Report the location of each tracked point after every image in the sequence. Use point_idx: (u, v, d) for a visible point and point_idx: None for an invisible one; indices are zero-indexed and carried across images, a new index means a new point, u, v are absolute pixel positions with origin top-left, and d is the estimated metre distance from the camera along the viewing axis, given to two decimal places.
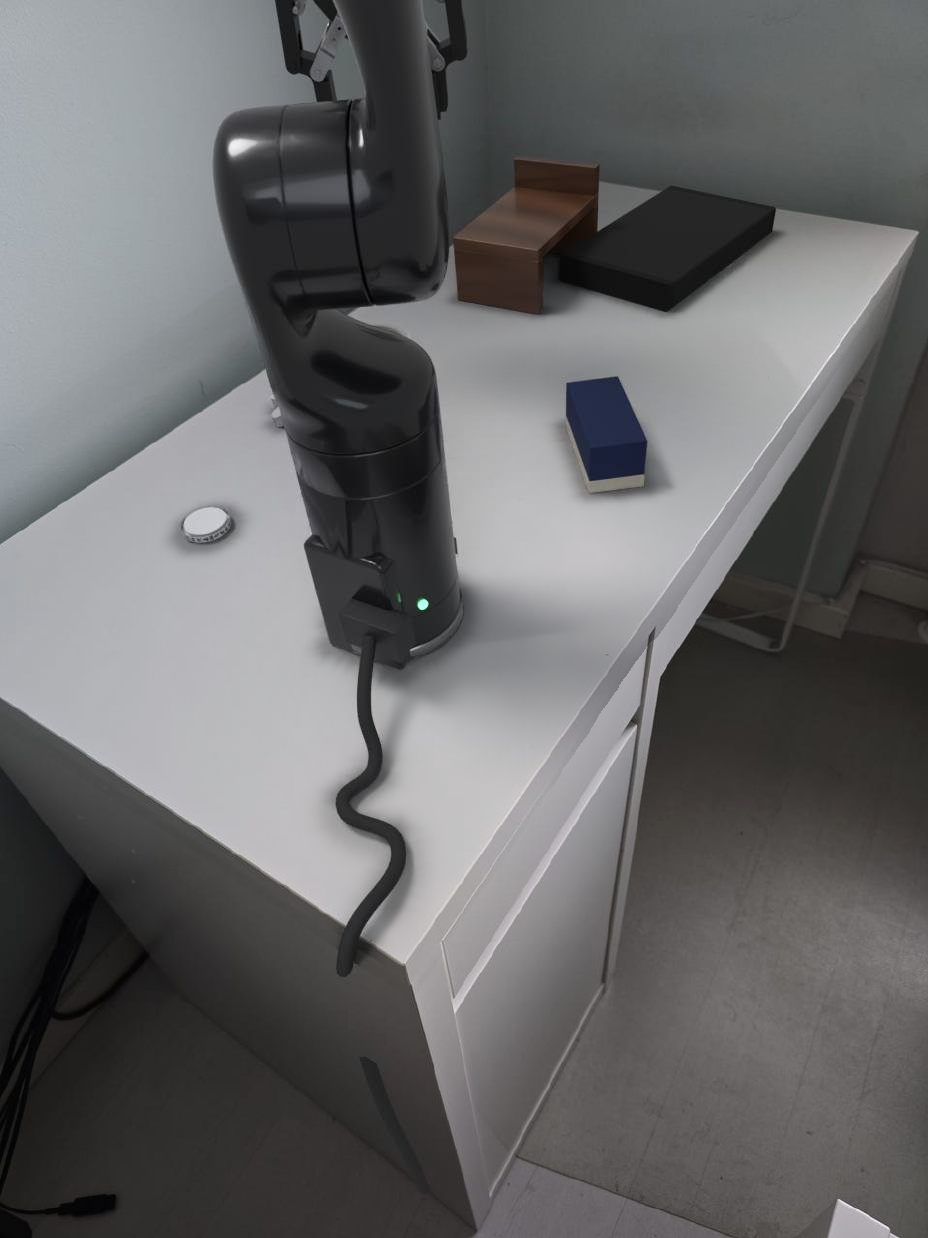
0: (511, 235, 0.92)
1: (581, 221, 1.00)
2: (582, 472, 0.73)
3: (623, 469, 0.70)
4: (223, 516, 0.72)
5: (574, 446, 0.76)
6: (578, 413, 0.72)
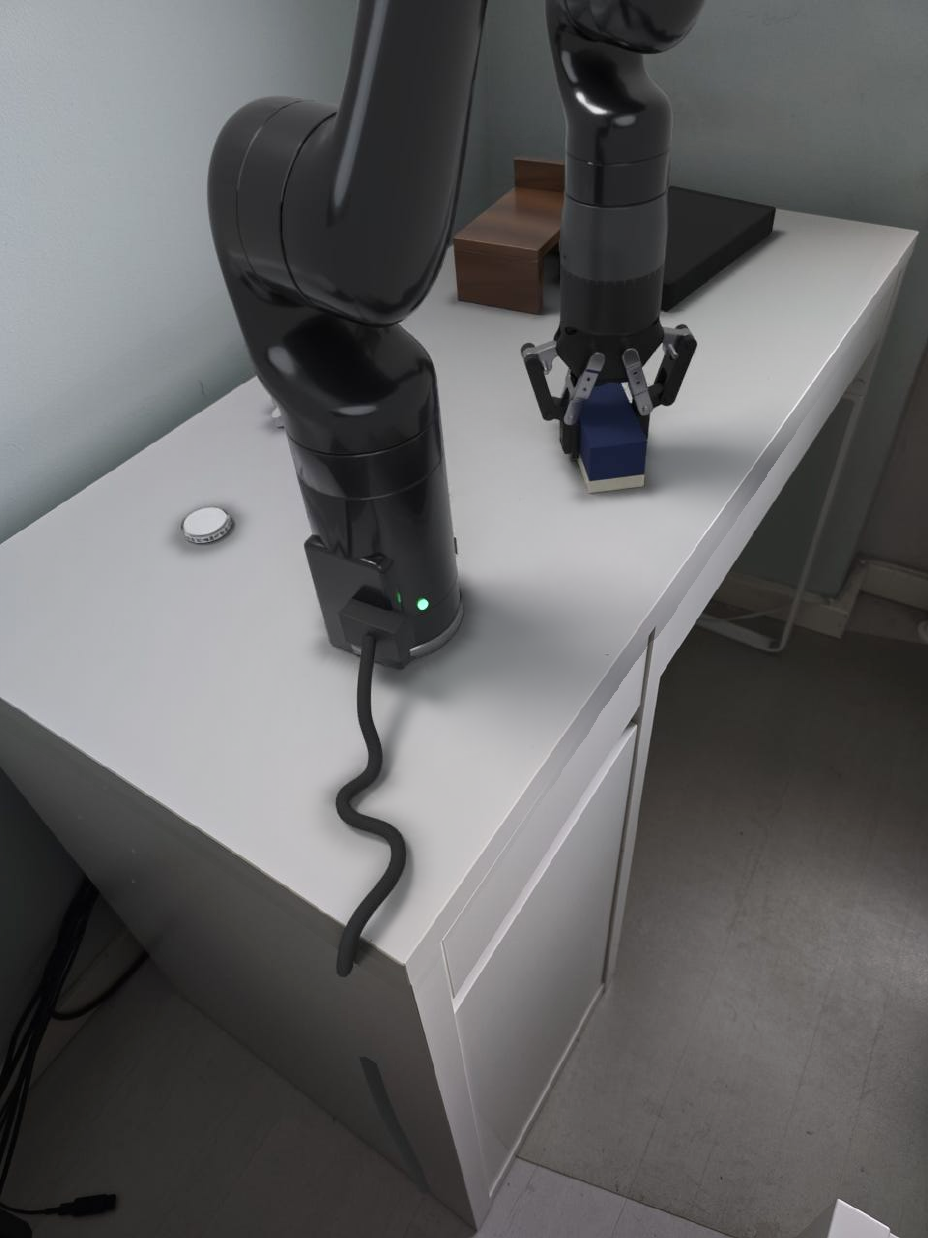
0: (511, 235, 0.92)
1: None
2: (582, 472, 0.73)
3: (623, 469, 0.70)
4: (222, 516, 0.72)
5: None
6: None
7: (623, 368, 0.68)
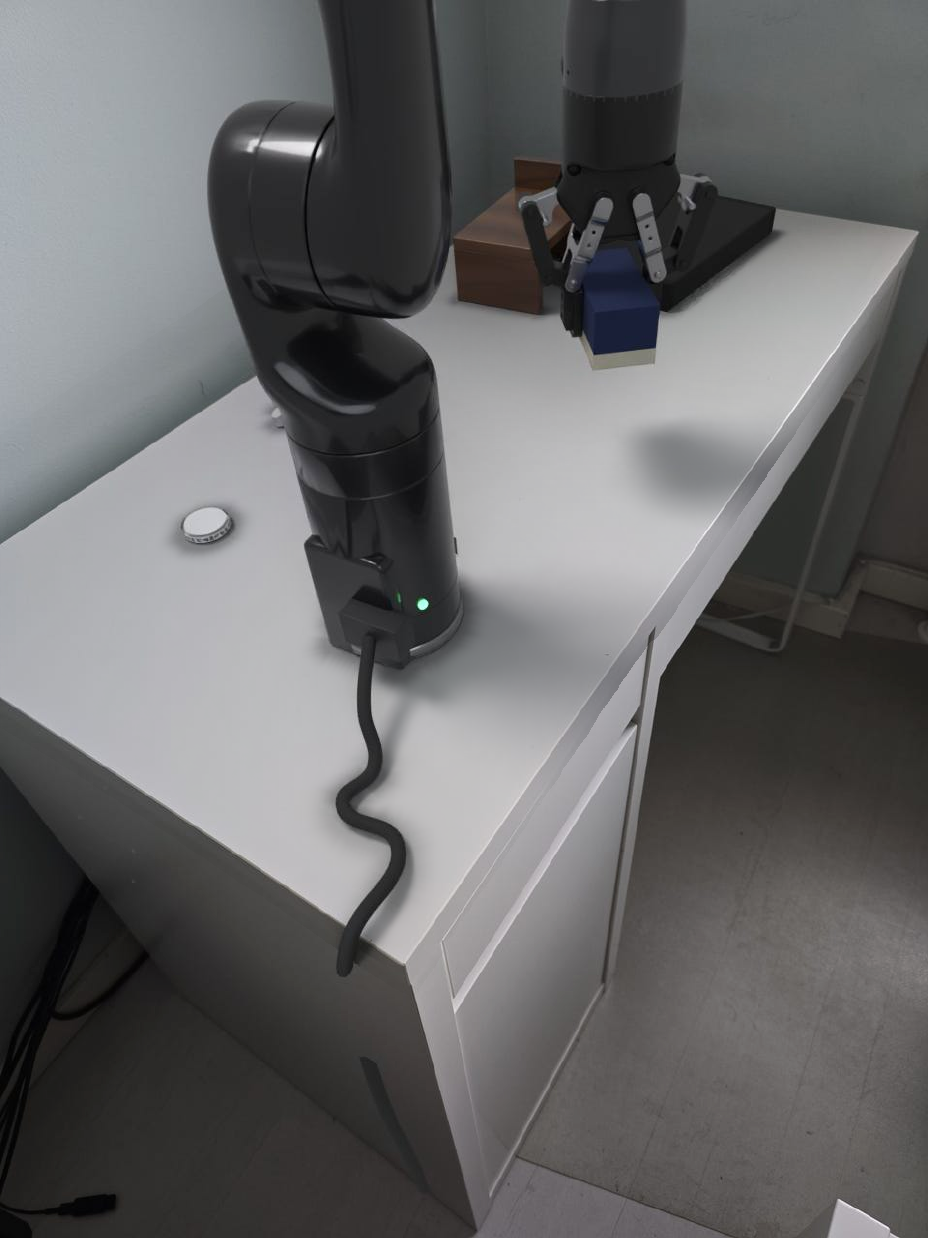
0: (511, 235, 0.92)
1: None
2: (585, 350, 0.65)
3: (632, 341, 0.62)
4: (222, 516, 0.72)
5: None
6: None
7: (633, 221, 0.60)
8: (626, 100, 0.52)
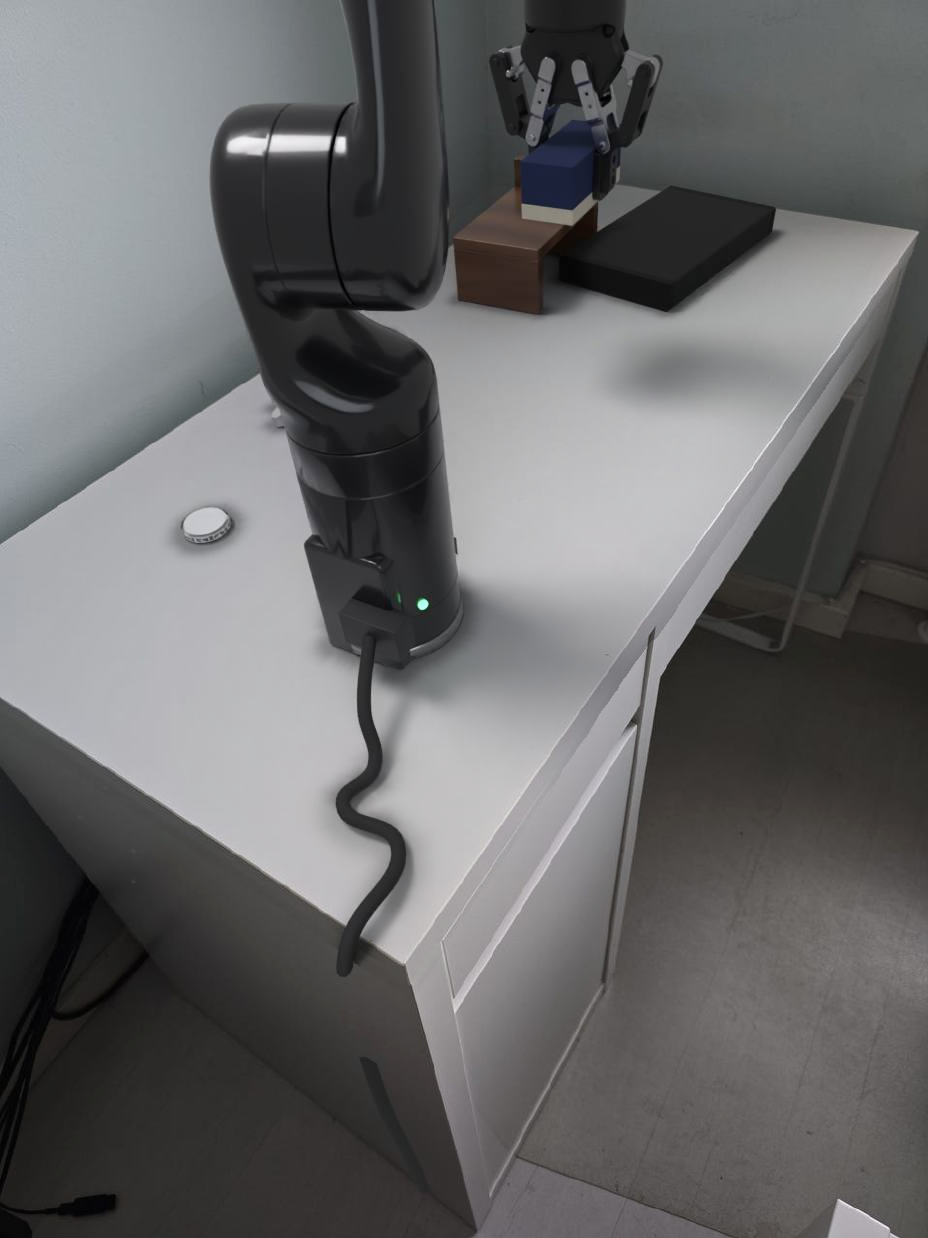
0: (511, 235, 0.92)
1: (581, 221, 1.00)
2: None
3: (552, 197, 0.70)
4: (222, 516, 0.72)
5: None
6: None
7: None
8: None
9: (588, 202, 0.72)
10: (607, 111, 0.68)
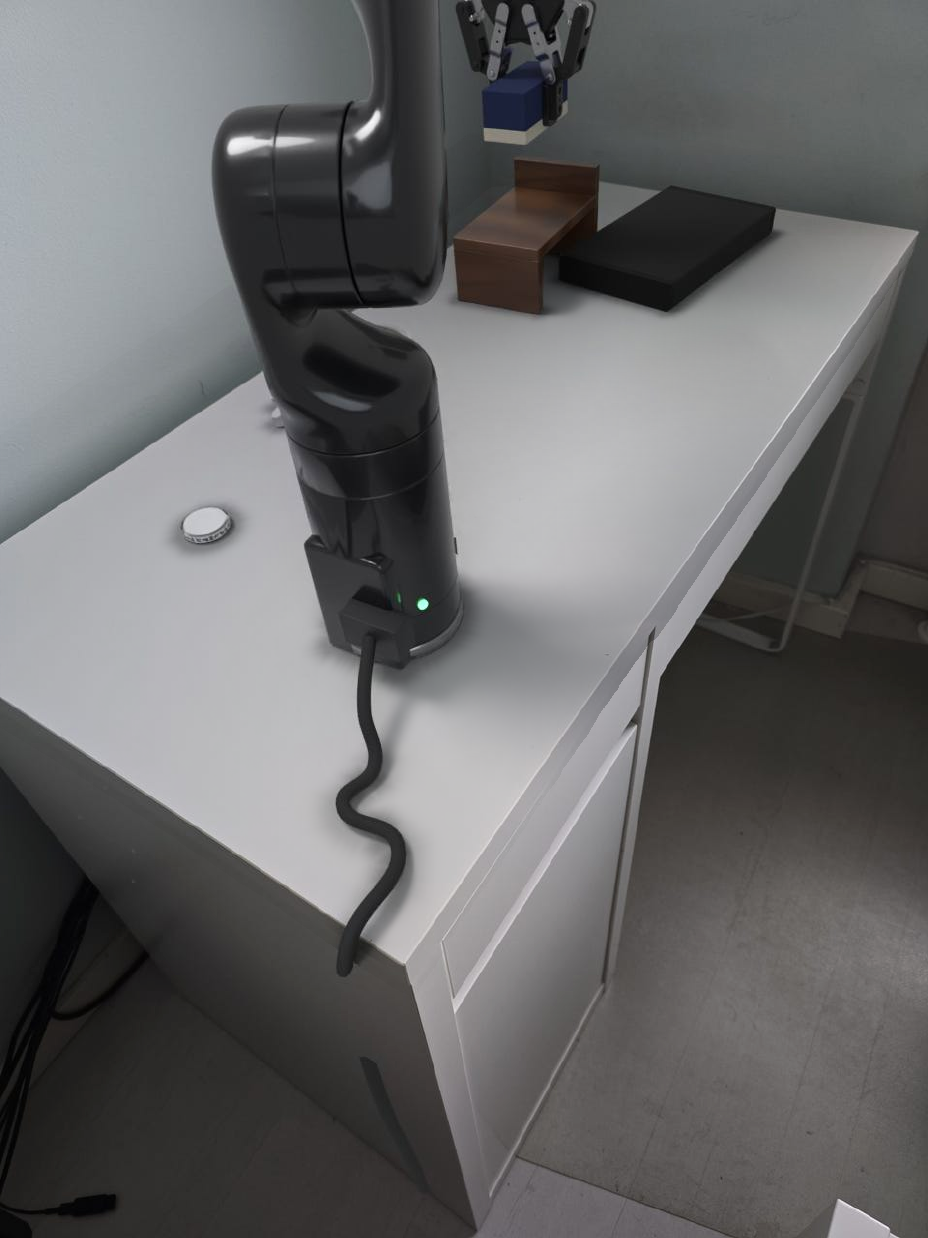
0: (511, 235, 0.92)
1: (581, 221, 1.00)
2: None
3: (508, 121, 0.84)
4: (222, 516, 0.72)
5: None
6: None
7: None
8: None
9: (539, 126, 0.86)
10: (552, 48, 0.82)
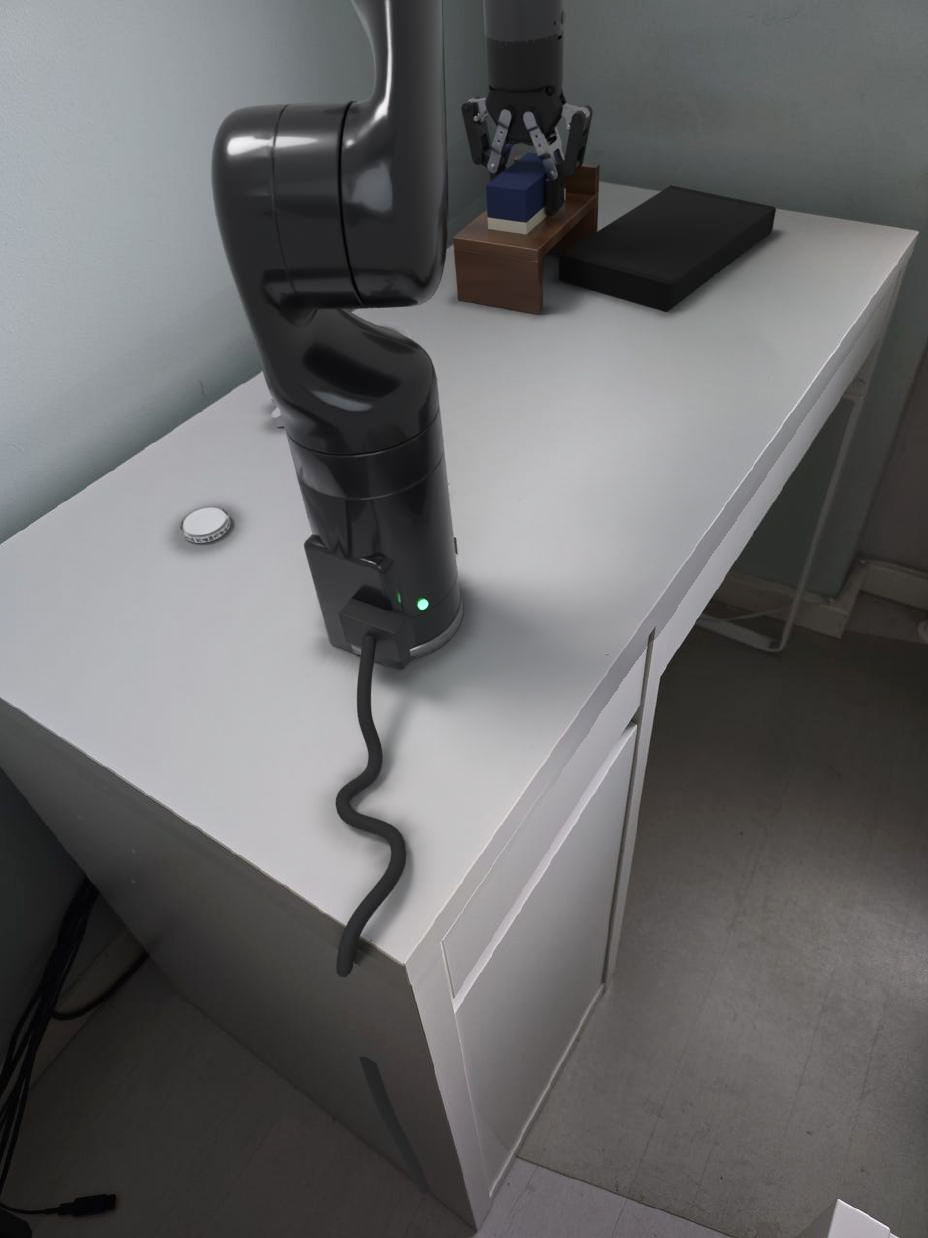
0: (511, 235, 0.92)
1: (581, 221, 1.00)
2: None
3: (510, 213, 0.91)
4: (222, 516, 0.72)
5: None
6: (507, 168, 0.93)
7: None
8: (500, 42, 0.81)
9: (539, 216, 0.93)
10: (554, 148, 0.89)
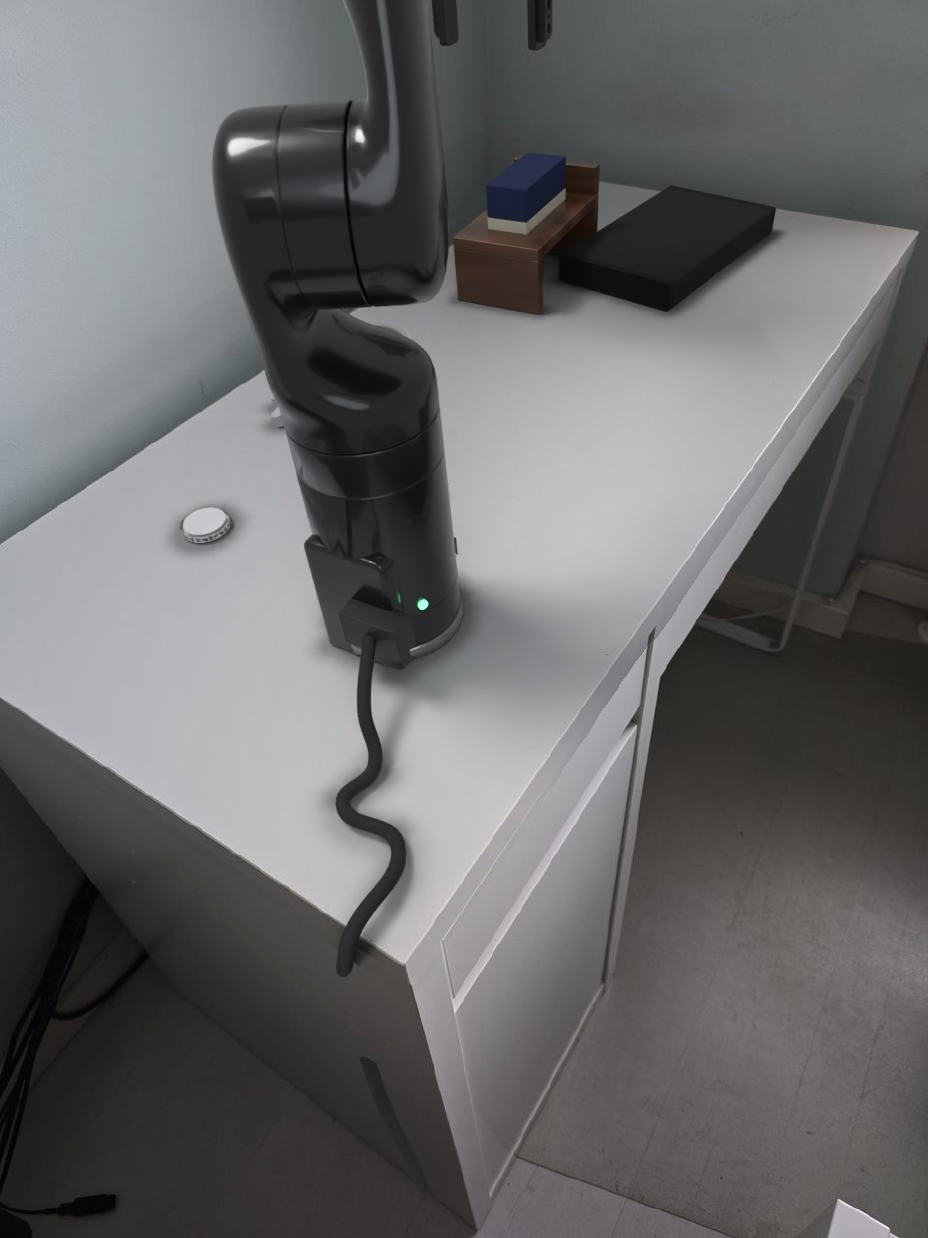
0: (511, 235, 0.92)
1: (581, 221, 1.00)
2: None
3: (510, 213, 0.91)
4: (222, 516, 0.72)
5: None
6: (507, 168, 0.93)
7: None
8: None
9: (539, 216, 0.93)
10: None
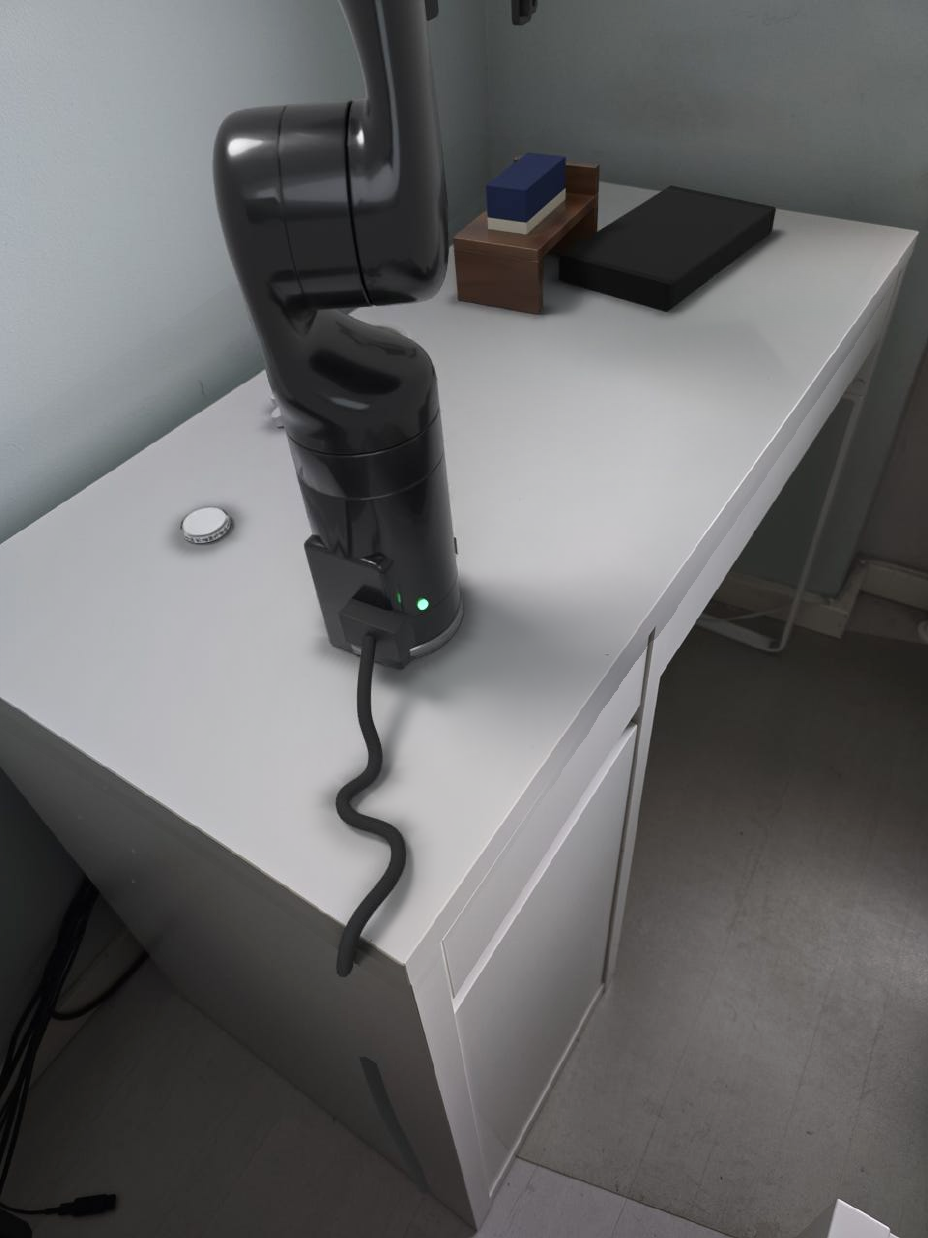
0: (511, 235, 0.92)
1: (581, 221, 1.00)
2: None
3: (510, 213, 0.91)
4: (222, 516, 0.72)
5: None
6: (507, 168, 0.93)
7: None
8: None
9: (539, 216, 0.93)
10: None
